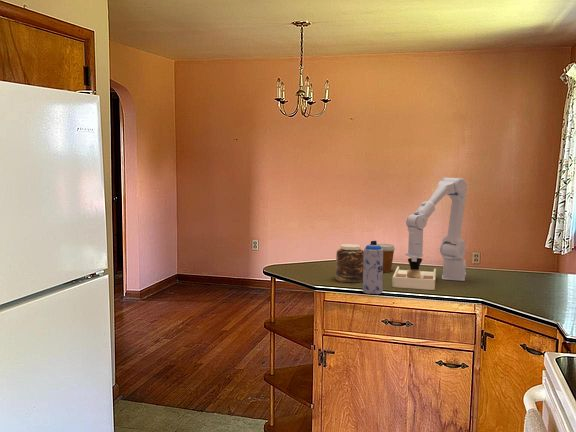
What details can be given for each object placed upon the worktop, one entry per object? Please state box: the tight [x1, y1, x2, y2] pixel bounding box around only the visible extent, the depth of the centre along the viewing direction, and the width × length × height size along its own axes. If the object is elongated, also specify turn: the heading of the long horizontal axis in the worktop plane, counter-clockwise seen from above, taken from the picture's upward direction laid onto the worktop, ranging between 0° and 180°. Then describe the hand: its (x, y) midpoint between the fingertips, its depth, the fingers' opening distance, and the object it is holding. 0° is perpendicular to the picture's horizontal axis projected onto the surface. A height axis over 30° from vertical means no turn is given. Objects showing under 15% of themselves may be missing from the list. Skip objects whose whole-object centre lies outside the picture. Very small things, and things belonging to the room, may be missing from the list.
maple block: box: [406, 268, 421, 279], centre depth 217 cm, size 5×5×4 cm
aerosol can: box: [361, 240, 384, 295], centre depth 207 cm, size 8×8×20 cm
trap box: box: [391, 265, 437, 291], centre depth 225 cm, size 17×24×4 cm
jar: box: [335, 243, 364, 284], centre depth 228 cm, size 12×12×15 cm
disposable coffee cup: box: [378, 243, 396, 273], centre depth 247 cm, size 10×10×12 cm
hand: (414, 275), depth 221 cm, fingers closed
